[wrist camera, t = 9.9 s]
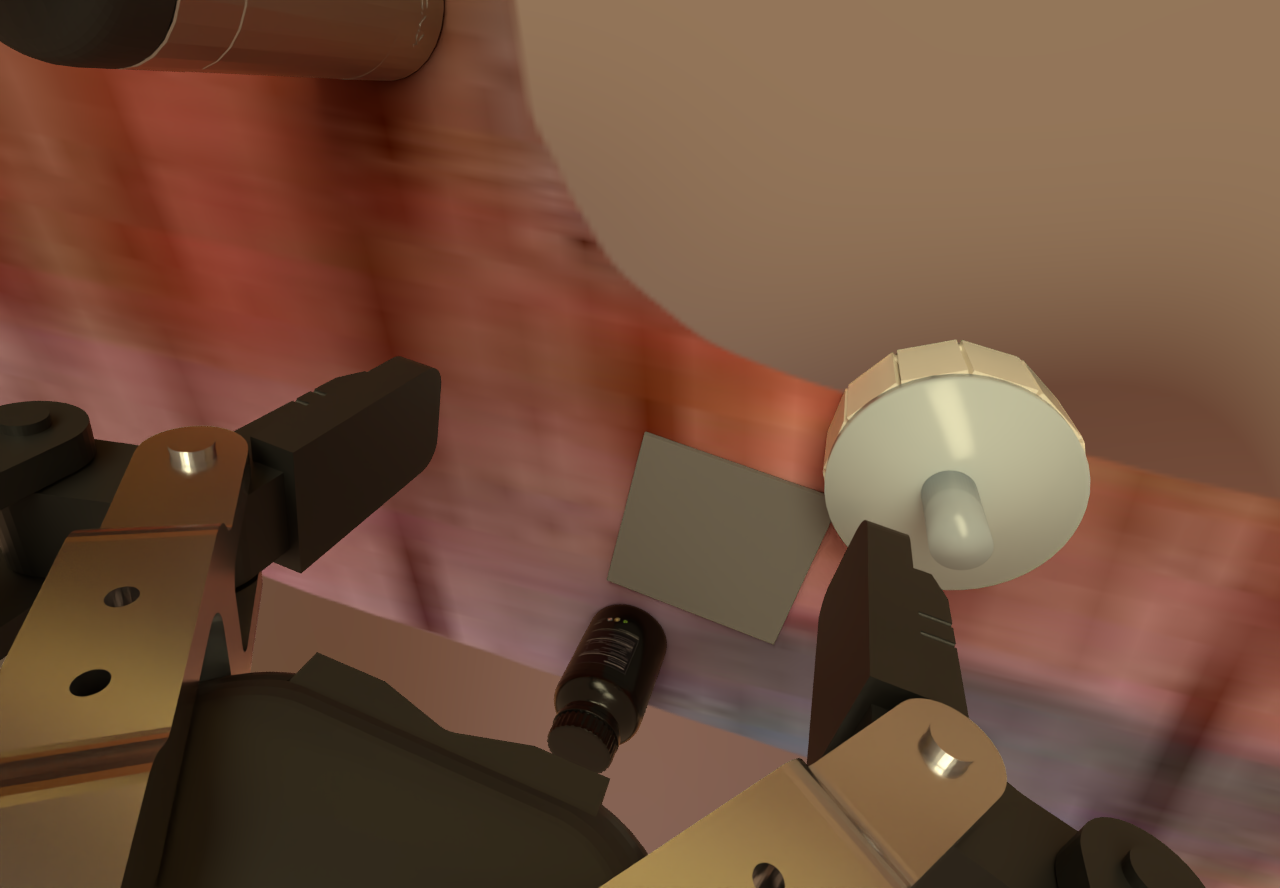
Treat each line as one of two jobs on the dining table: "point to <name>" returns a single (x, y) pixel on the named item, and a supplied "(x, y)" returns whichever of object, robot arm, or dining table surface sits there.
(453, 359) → the dining table surface
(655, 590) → the mat
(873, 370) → the bowl
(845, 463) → the lid
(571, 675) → the supplement bottle
